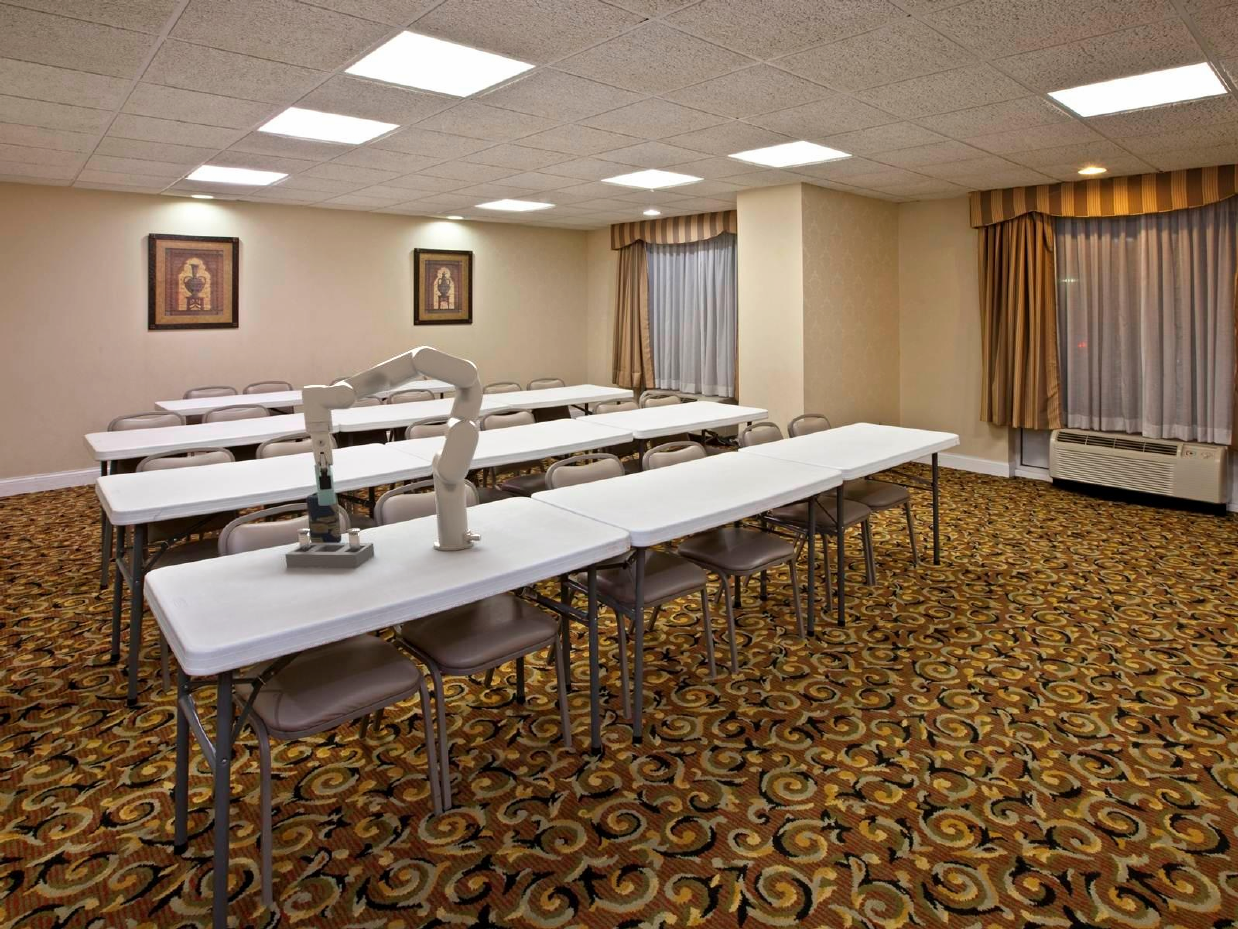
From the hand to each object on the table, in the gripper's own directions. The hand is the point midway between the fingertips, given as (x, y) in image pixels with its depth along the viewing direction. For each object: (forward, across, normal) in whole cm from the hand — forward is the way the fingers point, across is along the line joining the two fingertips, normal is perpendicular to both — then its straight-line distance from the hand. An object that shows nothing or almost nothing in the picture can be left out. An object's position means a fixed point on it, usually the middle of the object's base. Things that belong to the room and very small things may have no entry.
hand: (325, 486), depth 223 cm
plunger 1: (+22, +4, +8) cm, 23 cm away
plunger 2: (+22, -4, -6) cm, 23 cm away
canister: (+23, +20, +2) cm, 31 cm away
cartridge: (+5, 0, 0) cm, 5 cm away
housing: (+23, 0, +1) cm, 23 cm away
